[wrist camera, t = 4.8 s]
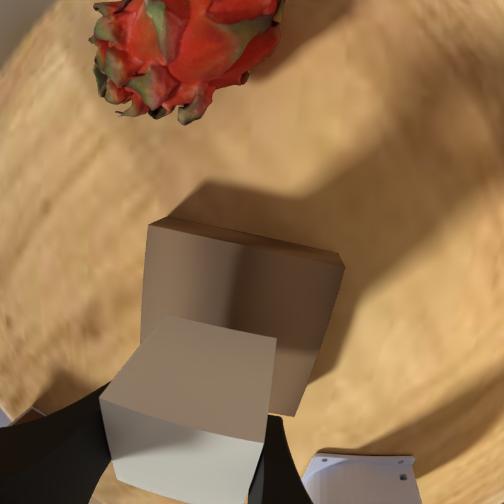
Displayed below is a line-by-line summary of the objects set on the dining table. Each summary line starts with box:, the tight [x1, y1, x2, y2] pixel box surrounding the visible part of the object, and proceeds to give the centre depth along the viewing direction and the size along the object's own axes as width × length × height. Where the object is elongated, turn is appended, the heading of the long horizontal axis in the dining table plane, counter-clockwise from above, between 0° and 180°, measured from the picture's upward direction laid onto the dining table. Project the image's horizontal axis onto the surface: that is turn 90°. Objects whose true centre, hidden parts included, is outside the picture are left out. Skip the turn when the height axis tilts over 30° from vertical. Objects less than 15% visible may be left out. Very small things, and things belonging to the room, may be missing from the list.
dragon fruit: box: [88, 0, 285, 125], centre depth 12 cm, size 8×8×12 cm
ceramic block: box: [99, 314, 277, 504], centre depth 12 cm, size 5×5×6 cm
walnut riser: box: [140, 217, 345, 417], centre depth 18 cm, size 10×10×3 cm
